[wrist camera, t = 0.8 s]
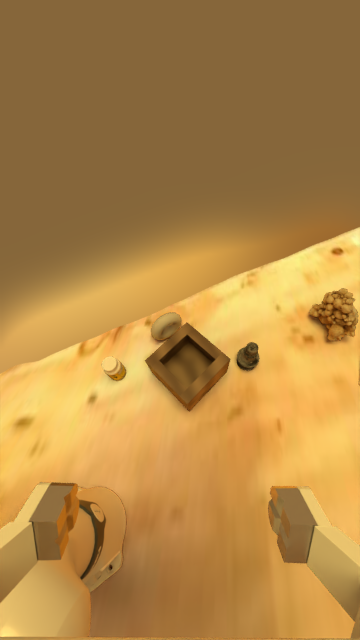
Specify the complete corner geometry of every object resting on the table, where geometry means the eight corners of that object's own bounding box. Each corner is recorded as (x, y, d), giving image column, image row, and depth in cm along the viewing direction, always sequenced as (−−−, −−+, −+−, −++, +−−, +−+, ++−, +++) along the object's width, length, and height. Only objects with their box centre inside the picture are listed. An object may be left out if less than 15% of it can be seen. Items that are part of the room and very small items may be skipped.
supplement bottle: (107, 378, 72) (96, 368, 64) (114, 363, 74) (105, 352, 66) (122, 383, 70) (112, 374, 63) (129, 368, 72) (120, 357, 65)
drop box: (189, 411, 65) (187, 404, 57) (152, 372, 71) (145, 360, 62) (226, 371, 70) (230, 359, 61) (188, 338, 76) (187, 322, 67)
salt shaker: (236, 350, 72) (242, 332, 62) (257, 353, 71) (266, 335, 61) (234, 369, 70) (240, 353, 59) (256, 373, 69) (265, 358, 58)
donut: (178, 321, 79) (175, 304, 70) (184, 329, 77) (182, 312, 68) (151, 338, 76) (145, 323, 68) (157, 346, 75) (151, 332, 66)
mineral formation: (324, 304, 77) (348, 272, 64) (353, 340, 71) (387, 313, 58) (301, 312, 77) (321, 282, 64) (329, 350, 70) (358, 325, 57)
